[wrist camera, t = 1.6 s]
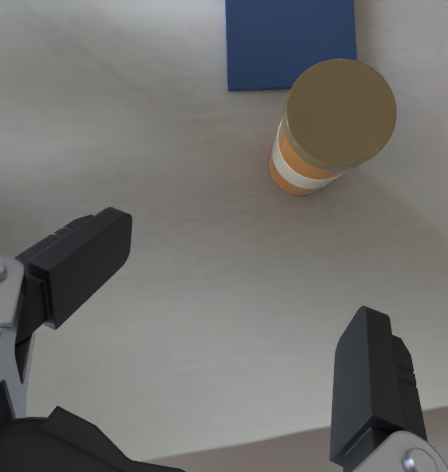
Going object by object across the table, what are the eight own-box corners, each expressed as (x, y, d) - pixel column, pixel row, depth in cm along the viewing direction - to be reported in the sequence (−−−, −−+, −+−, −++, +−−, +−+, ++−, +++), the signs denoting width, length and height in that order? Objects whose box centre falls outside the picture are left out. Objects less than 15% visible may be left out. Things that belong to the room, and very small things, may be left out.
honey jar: (267, 199, 28) (288, 167, 18) (264, 129, 28) (283, 60, 18) (338, 196, 27) (400, 163, 18) (334, 127, 28) (393, 55, 18)
